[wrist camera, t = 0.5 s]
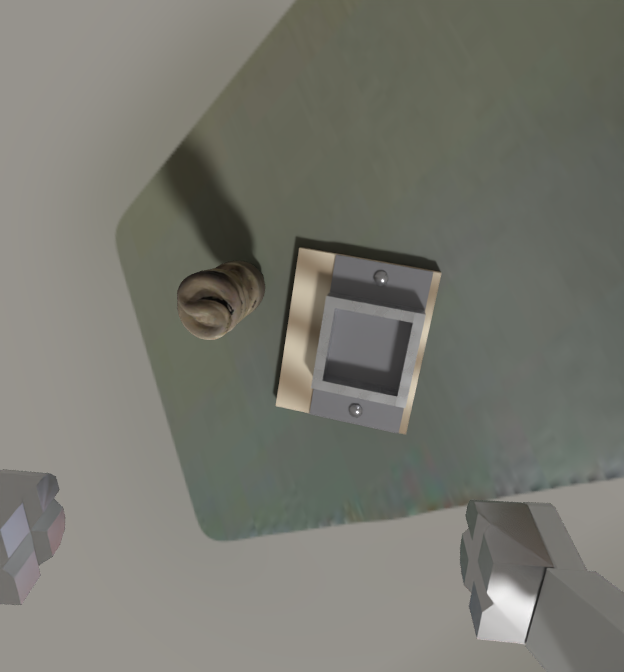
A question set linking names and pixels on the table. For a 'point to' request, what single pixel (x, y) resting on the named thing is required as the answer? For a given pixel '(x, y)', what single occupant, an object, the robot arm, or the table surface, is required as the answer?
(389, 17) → the table surface
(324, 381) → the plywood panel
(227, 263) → the light bulb
